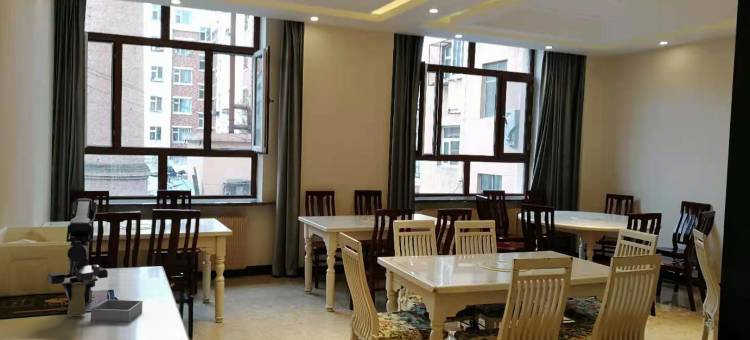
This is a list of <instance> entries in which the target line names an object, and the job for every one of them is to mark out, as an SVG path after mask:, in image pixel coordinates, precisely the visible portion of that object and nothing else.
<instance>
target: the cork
mask: <svg viewBox="0 0 750 340" xmlns="http://www.w3.org/2000/svg"><path fill="white" fill-rule="evenodd" d="M85 289H86V285H85V284H84V283H81V282H77V283H72V285H71V301H69V300H68V303H69V304H68V307H67V313H66V315H67V316H69V317H77V316H83V315H85V314H87V309H86V304H85V298H84V291H85Z"/></svg>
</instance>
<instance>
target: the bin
mask: <svg viewBox="0 0 750 340" xmlns="http://www.w3.org/2000/svg"><path fill="white" fill-rule="evenodd" d="M142 313H143V300H131V299H130V300H128V299H127V300H126V299H105V300H104V301H103V302H101V303H98V304H97V305H96V306H94V307H92V308H91V309H90V322H99V323H126V324H128V323H131V321H132V320H134V319H135V318H137V317H138V316H139V315H141V314H142Z"/></svg>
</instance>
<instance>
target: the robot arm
mask: <svg viewBox="0 0 750 340" xmlns="http://www.w3.org/2000/svg"><path fill="white" fill-rule="evenodd" d="M97 213H98V203H97V202H96V201H93V200H92V199H91V198H78V199H76V201H73V202H72V214H73V215H74V217H73V218H71V219H70V223H69V224H67V229H66V230H67V232H66V239H65V240H66V243H69V244H70V245H69V248H68V250H67V258H68V262H69V268H68V269H67V273H65V274H64V273H62V272H59V271H58V272H51V273H50V272H49V273H48V274H47V275H46V282H47V283H49V284H51V285H57V284H60V285H61V287H62V288H63V290H64V292H65V295H66V296H67V300H68V305H69V301H71V285H72V283H77V282H81V283H84V284H85V285H86V289H85V291H84V298H85V305H87V304H88V303H89V304H90V303H91V302H93V290H92V288H94V287H96V282H97V281H99V279H105V278H108V276H109V272H108V270H107V269H106V268H103V267H100V265H99V264H92V265H91V264H90V259H89V253H90V251H89V248H90V242H92V240H93V239H94V234H95V233H94V231H95V227H94V225H93V224H92V223H93V222H94V220H95V219H96V215H98V214H97Z"/></svg>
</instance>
